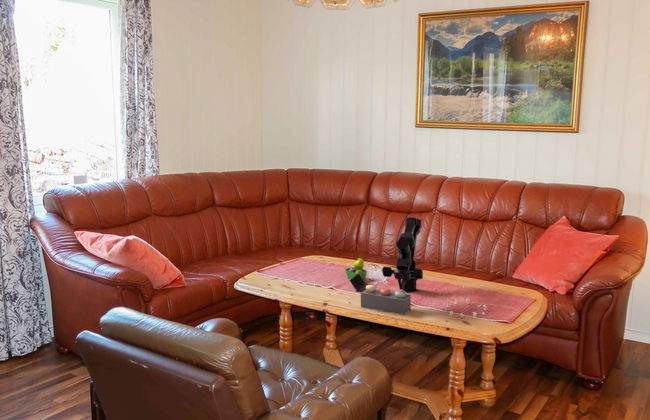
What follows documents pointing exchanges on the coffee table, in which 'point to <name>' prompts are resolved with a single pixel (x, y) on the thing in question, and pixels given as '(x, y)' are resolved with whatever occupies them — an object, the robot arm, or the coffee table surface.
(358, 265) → the fruit basket
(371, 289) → the cream button
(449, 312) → the game piece set
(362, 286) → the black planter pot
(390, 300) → the button panel
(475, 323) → the coffee table surface
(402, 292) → the green button
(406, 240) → the robot arm
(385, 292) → the red button
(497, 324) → the coffee table surface
